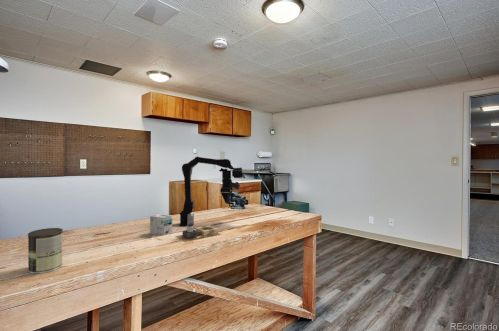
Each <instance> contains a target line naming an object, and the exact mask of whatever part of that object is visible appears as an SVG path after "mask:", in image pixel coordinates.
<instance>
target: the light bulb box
mask: <svg viewBox="0 0 499 331" xmlns="http://www.w3.org/2000/svg"><path fill="white" fill-rule="evenodd" d="M149 216H150V217H149V218H150V219H149V224H150V225H149V230H150V231H149V235H152V236H154V235H160V236H166V235H168V234H171V233H173V215H172V214H171V215H170V214H164V213H163V214H162V213H157V214H151V215H149Z"/></svg>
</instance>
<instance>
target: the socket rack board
mask: <svg viewBox="0 0 499 331" xmlns="http://www.w3.org/2000/svg"><path fill="white" fill-rule="evenodd" d="M221 235H223V234H221V233H219V228H217V227H214V226H212V225H205V226H200V227H199V226H198V227H195V229H194V232H192V233H187V230H186V229H185V230H182V234H180V235H176V236H174V237H175V238H176V239H179V240H181V241H182V242H184V243H188V242H193V241H196V240H201V239H202V240H203V239H207V238H212V237H217V236H221Z"/></svg>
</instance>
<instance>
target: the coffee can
mask: <svg viewBox="0 0 499 331" xmlns="http://www.w3.org/2000/svg"><path fill="white" fill-rule="evenodd" d="M63 230H64V229H63V228H60V227H47V228H40V229H37V230H36V229H35V230H32V231H30V232H28V233H27V236H28V237H27V239H28V240H27V244H28V246H27V247H28V249H27V252H28V253H27V254H28V256H27V258H28V262H27V266H28V267H27V268H28V269H27V272H28V274H32V275H39V274H40V275H41V274H47V273H50V272H54V271H56V270H59V269H60V268H61V267H62V266H63V232H64V231H63Z"/></svg>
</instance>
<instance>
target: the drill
mask: <svg viewBox="0 0 499 331" xmlns="http://www.w3.org/2000/svg"><path fill="white" fill-rule="evenodd" d="M194 214H195V213H191V214H188V226H186V229H187V233H192V232H194V230H195V215H194Z"/></svg>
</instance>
